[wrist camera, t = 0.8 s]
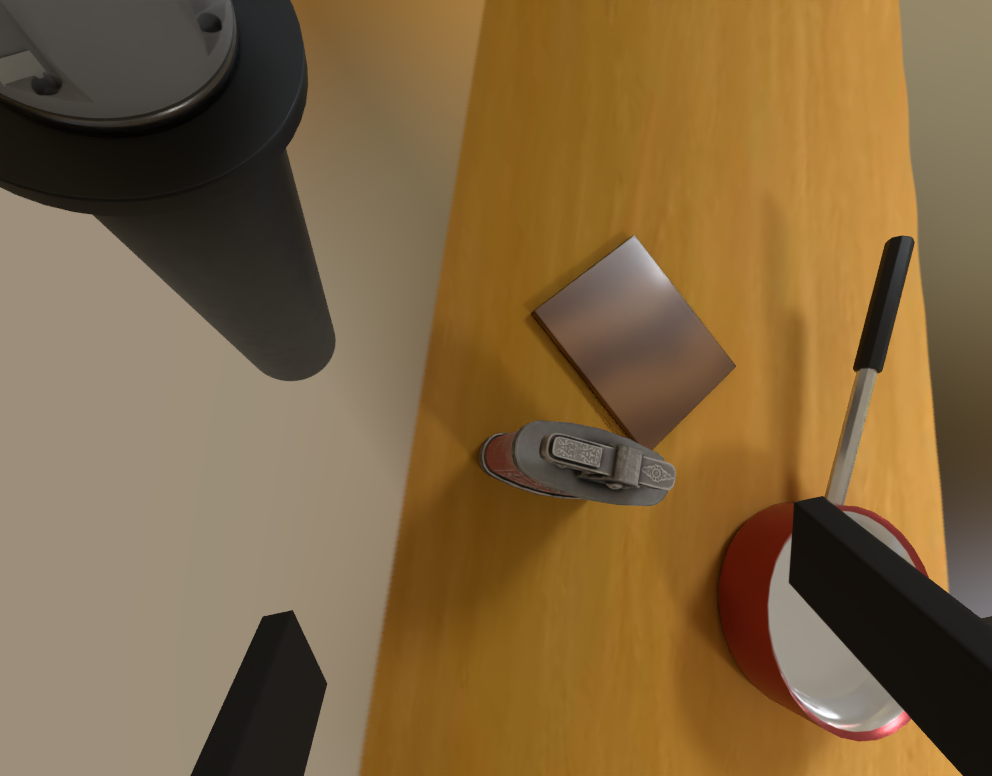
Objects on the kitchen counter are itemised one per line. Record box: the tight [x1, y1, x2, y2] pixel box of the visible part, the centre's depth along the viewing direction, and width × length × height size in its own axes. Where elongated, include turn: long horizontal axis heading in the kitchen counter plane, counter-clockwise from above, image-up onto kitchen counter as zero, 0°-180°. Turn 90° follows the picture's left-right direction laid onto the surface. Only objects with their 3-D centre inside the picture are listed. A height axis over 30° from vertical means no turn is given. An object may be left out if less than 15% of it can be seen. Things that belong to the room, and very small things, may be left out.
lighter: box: [479, 421, 676, 506], centre depth 24 cm, size 8×3×10 cm, turn 77°
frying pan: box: [719, 236, 929, 741], centre depth 31 cm, size 32×13×6 cm, turn 170°
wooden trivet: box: [532, 235, 736, 450], centre depth 32 cm, size 12×10×1 cm
